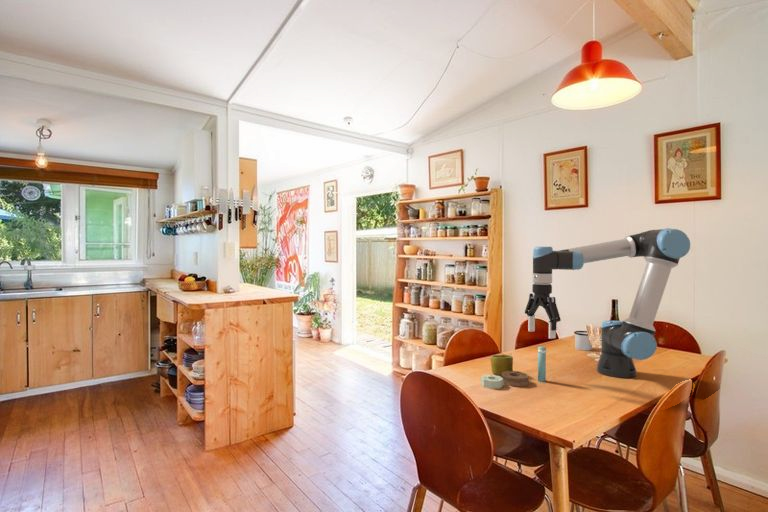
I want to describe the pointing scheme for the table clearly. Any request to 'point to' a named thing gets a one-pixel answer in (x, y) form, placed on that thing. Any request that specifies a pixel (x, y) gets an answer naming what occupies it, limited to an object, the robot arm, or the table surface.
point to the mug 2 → (582, 341)
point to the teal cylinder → (542, 364)
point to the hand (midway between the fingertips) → (541, 334)
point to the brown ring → (515, 378)
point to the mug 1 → (501, 364)
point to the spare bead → (492, 381)
